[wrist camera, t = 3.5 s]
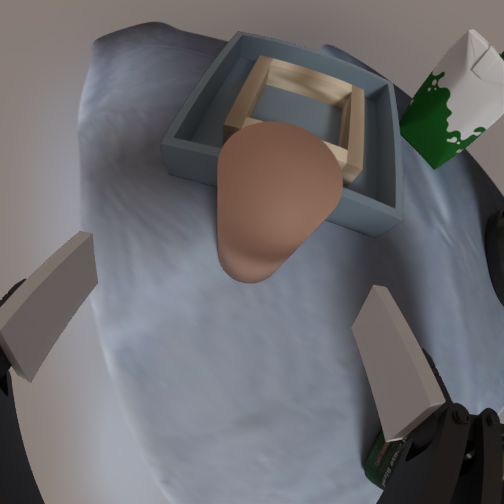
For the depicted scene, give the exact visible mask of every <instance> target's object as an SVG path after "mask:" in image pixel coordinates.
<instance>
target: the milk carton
mask: <svg viewBox="0 0 504 504" xmlns="http://www.w3.org/2000/svg"><path fill="white" fill-rule="evenodd" d="M503 114H504V52H503V53H502V54H500V53H499V51H498V50H497V49H496V48H495V47H494V46H493V45H492V44H489V43H488V42H487V41H486V40H485V39H484V38H483V37H482V36H481V35H480V34H479V33H478V32H477V31H475V30H474V29H473V30H468V31H467V32H466V33H465V34H464V35H463V36H462V37H461V38H460V39H459V40H458V41H457V42H456V43H455V44H454V45H453V46H452V47H451V48H450V49H449V50H448V51H447V53H446V54H445V55H444V56H443V58H442V59H441V60H440V62H439V63H438V64H437V66H436V67H435V68H434V70H433V71H432V72H431V74H430V75H429V77H428V78H427V79H426V81H425V82H424V83H423V84H422V86H421V87H420V88H419V90H418V91H417V93H416V94H415V95H414V97H413V99H412V100H411V102H410V104H409V106H408V108H407V110H406V112H405V114H404V115H403V117H402V119H401V121H400V123H399V128H400V134H401V135H402V136H403V137H404V138H405V139H406V140H407V141H408V142H409V143H410V144H411V145H412V146H413V147H414V148H415V149H416V150H417V151H418V152H419V154H420V155H421V156H422V157H423V158H424V159H425V160H426V161H427V162H428V163H429V164H430V165H431V167H432V168H433V169H434V170H435V169H436V168H438V167H439V166H441V165H442V164H444V163H445V162H447V161H448V160H449V159H451V158H452V157H454V156H455V155H457V154H458V153H459V152H461V151H462V150H464V149H465V148H466V147H467V146H468V145H470V144H471V143H472V142H473V141H474V140H475V139H476V138H478V137H479V136H480V135H481V134H482V133H483V132H484V131H485V130H486V129H488V128H489V127H490V126H491V125H492V124H493V123H494V122H495V121H496V120H497V119H499V118H500V117H501V116H502V115H503Z"/></svg>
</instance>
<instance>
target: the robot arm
mask: <svg viewBox="0 0 504 504" xmlns="http://www.w3.org/2000/svg"><path fill="white" fill-rule="evenodd" d="M486 251H487V259H488V265H489V270H490V274H491V278H492V282H493V285H494V288H495V291H496V293H497V296H498V298H499V300H500V301H501V303H502V305H503V306H504V208H503V209H501V210H499V211H497V212H495V213H493V214H492V215H491V216H490V218H489V220H488V223H487V228H486ZM97 283H98V278H97V271H96V263H95V255H94V245H93V234H92V233H87V232H82V231H79V232H78V233H77V234H76V235H75V236H73V237H72V238H71V239H70V240H69V241H68V242H66V243H65V244H64V245H63V246H62V247H61V248H60V249H58V250H57V251H56V252H55V253H54V254H53V255H52V256H51V257H49V258H48V259H47V260H46V261H45V262H44V263H43V264H42V265H41V266H40V267H39V268H38V269H37V270H36V271H35V272H34V273H33V274H32V275H31V276H30V277H29V278H28V279H24V280H22V281H20V282H19V283H17V284H15V285H14V286H13V287H12V288H11V289H10V291H9V292H8V294H6V295H5V296H4V297H3V298H2V300H0V504H45V503H44V501H43V499H42V496H41V494H40V491H39V489H38V486H37V484H36V481H35V479H34V476H33V473H32V471H31V467H30V464H29V461H28V458H27V455H26V451H25V448H24V444H23V440H22V436H21V432H20V428H19V423H18V419H17V414H16V408H15V402H14V396H13V389H12V380H11V375H10V372H9V371H8V370H9V369H10V367H11V366H12V367H13V369H14V370H15V372H16V373H17V375H18V376H20V377H22V378H23V379H25V380H27V381H29V382H32V380H33V378H34V376H35V375H36V373H37V371H38V370H39V368H40V366H41V365H42V363H43V361H44V360H45V358H46V356H47V355H48V353H49V352H50V350H51V349H52V347H53V345H54V344H55V342H56V341H57V339H58V338H59V336H60V335H61V333H62V332H63V330H64V329H65V327H66V326H67V324H68V323H69V321H70V320H71V319H72V317H73V316H74V314H75V313H76V312H77V310H78V309H79V307H80V306H81V305H82V303H83V302H84V301H85V299H86V298H87V296H88V295H89V294H90V293H91V291H92V290H93V289H94V287H95V286H96V285H97ZM351 329H352V332H353V334H354V337H355V340H356V343H357V346H358V349H359V352H360V355H361V358H362V361H363V364H364V367H365V370H366V374H367V377H368V380H369V383H370V386H371V390H372V393H373V397H374V400H375V403H376V407H377V410H378V414H379V418H380V421H381V425H382V429H383V433H384V437H385V441H386V442H390V441H396V440H401V439H402V438H404V437H405V436H406V435H407V434H409V433H410V432H411V436H412V438H411V439H409V440H408V441H407V442H405V443H404V444H403V445H401V446H400V447H398V449H397V450H396V451H397V452H399V451H400V450H402V449H403V448H404V447H405V449H404V451H403V452H401V454H402V456H401V458H400V460H399V462H398V464H397V466H396V468H395V470H394V472H393V474H392V476H391V478H390V480H389V482H388V484H387V486H386V488H385V489H384V491H383V493H382V495H381V496H380V498H379V500H378V502H377V503H376V504H501V498H502V482H503V452H502V436H501V426H500V420H499V417H498V415H497V413H496V412H495V411H494V410H493V409H491V408H486V409H485V410H483V411H482V412H481V413H480V414H479V415H471V414H469V412H468V411H467V409H466V408H465V407H464V406H463V405H461V404H458V403H453V402H452V400H451V398H450V396H449V394H448V391H447V389H446V387H445V385H444V383H443V381H442V378H441V376H439V372H438V370H437V368H435V364H434V362H433V360H432V358H431V357H430V355H429V354H428V353H427V352H426V351H425V350H424V349H423V348H420V346H419V344H418V342H417V340H416V338H415V336H414V334H413V333H412V331H411V329H410V327H409V325H408V323H407V322H406V320H405V318H404V316H403V315H402V313H401V311H400V309H399V308H398V306H397V304H396V302H395V301H394V299H393V297H392V296H391V294H390V292H389V291H388V289H387V288H386V287H384V286H378V285H373V286H372V288H371V290H370V293H369V295H368V297H367V299H366V301H365V302H364V304H363V306H362V308H361V310H360V312H359V314H358V316H357V318H356V320H355V322H354V323H353V325H352V327H351ZM474 449H475V455H474V456H473V457H471V458H470V459H467V454H468V453H470V452H471V451H473V450H474Z"/></svg>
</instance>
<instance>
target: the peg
mask: <svg viewBox="0 0 504 504" xmlns="http://www.w3.org/2000/svg"><path fill="white" fill-rule="evenodd" d="M342 189H343V178H342V172H341V168H340V166H339V163H338V161H337V159H336V157H335V155H334V154H333V153H332V151H331V150H330V149H329V147H328V146H327V145H326V144H325V143H324V142H323V141H322V140H321V139H319V138H318V137H317V136H315V135H314V134H312V133H311V132H309V131H307V130H305V129H303V128H301V127H298V126H296V125H292V124H289V123H284V122H274V121H270V122H260V123H255V124H251V125H249V126H246V127H244V128H242V129H240V130H238V131H237V132H236V133H234V134H233V135H232V136H231V137H230V138H229V139H228V140H227V141H226V143H225V144H224V146H223V148H222V150H221V152H220V155H219V158H218V170H217V234H218V259H219V262H220V264H221V267H222V268H223V270H224V271H225V272H226V273H227V274H228V275H229V276H230V277H231V278H233V279H235V280H237V281H239V282H243V283H258V282H261V281H263V280H265V279H267V278H268V277H270V276H271V275H272V274H273V273H274V272H275V271H276V270H277V269H278V268H279V267H280V266H281V265H282V264H283V263H284V262H285V261H286V260H287V259H288V258H289V257H290V256H291V255H292V254H293V253H294V251H295V250H296V249H297V248H298V247H299V246H300V245H301V244H302V243H303V242H304V241H305V240H306V239H307V238H308V237H309V236H310V235H311V234H312V233H313V232H314V231H315V230H316V228H317V227H318V226H319V225H320V224H321V223H322V222H323V221H324V220H325V219H326V218H327V217H328V216H329V215H330V214H331V212H332V211H333V210H334V209H335V208H336V206H337V204H338V202H339V200H340V197H341V194H342Z"/></svg>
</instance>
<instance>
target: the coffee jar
mask: <svg viewBox="0 0 504 504" xmlns="http://www.w3.org/2000/svg"><path fill="white" fill-rule="evenodd" d="M500 426H501V436H502V452H503V482H502V498H501V504H504V424H501V423H500ZM411 438H412V436H411V432H410V433H409V434H407V435H406V436H405V437H404V438H402V439H401V440H396V441H390V442H386V441H385V437H384V433H383V429H382V430H381V432H380V433H379V435H378V437H377V439H376V441H375V443H374V445H373V447H372V449H371V451H370V454H369V456H368V458H367V461H366V464H365V475H366V477H367V478H368V479H369V480H370V481H371V482H372V483H373V484H375V485H376V486H378V487H379V488H381V489H382V490H384V489H385V488H386V486H387V484H388V482H389V480H390V478H391V476H392V474H393V472H394V470H395V468H396V466H397V464H398V462H399V460H400V458H401V456H402V454H401V452H403V451H404V449H405V447H404V448H403V449H402V450H400V451H399V452H397V451H396V450H397V449H398V447H400V446H401V445H403V444H404V443H405V442H407V441H408V440H409V439H411ZM474 455H475V449H474V450H473V451H471V452H470V453H468V454H467V459H470V458H471V457H473V456H474Z"/></svg>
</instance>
